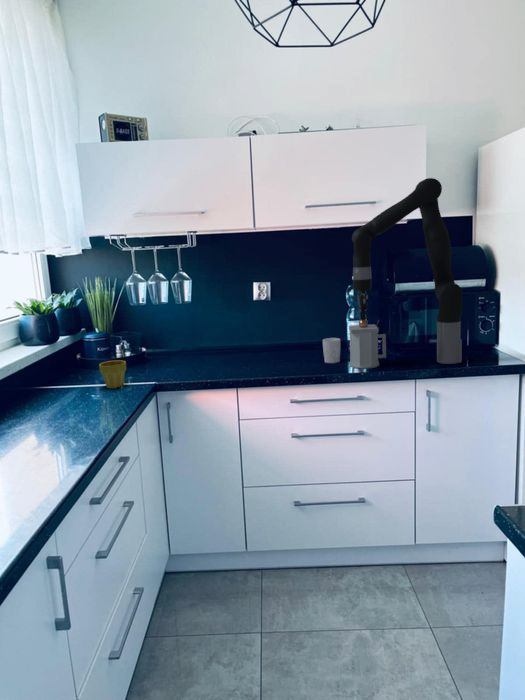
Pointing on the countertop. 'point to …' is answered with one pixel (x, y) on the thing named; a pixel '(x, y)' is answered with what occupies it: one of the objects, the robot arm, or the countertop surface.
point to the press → (365, 346)
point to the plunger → (363, 323)
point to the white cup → (331, 350)
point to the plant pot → (113, 373)
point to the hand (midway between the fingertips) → (363, 319)
